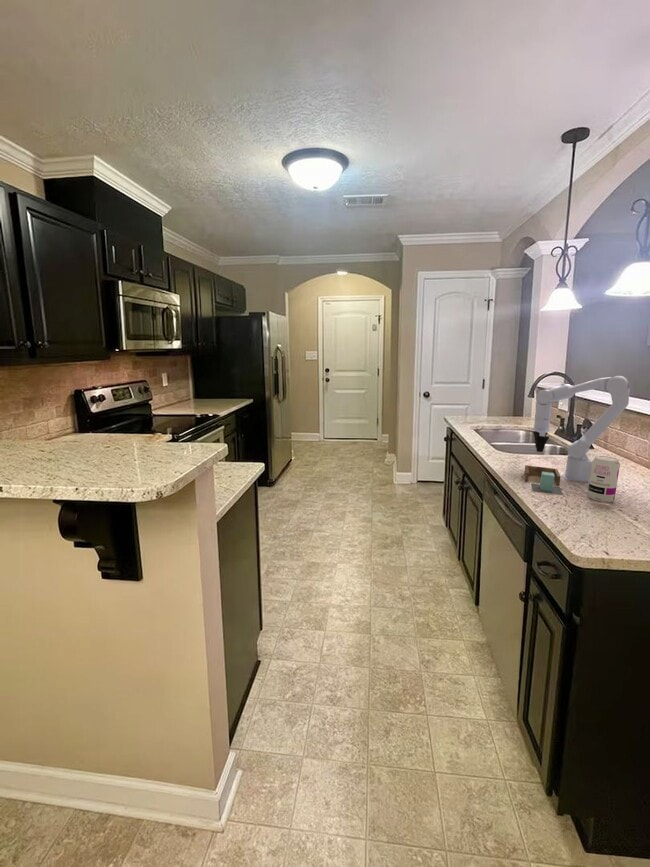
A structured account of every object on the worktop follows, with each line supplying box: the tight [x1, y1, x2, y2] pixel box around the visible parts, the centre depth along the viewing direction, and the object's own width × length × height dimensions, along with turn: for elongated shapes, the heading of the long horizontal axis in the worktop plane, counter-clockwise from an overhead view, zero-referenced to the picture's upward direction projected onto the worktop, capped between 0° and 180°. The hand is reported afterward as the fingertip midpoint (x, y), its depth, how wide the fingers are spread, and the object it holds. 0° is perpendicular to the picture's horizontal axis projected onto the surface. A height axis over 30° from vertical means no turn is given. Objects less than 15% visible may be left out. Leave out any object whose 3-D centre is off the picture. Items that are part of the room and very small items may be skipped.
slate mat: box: [531, 483, 564, 496], centre depth 161 cm, size 10×10×1 cm
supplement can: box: [587, 455, 621, 503], centre depth 151 cm, size 8×8×15 cm
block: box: [539, 472, 555, 491], centre depth 161 cm, size 4×4×6 cm
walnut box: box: [524, 465, 561, 487], centre depth 173 cm, size 12×12×4 cm
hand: (539, 449), depth 183 cm, fingers open, 7 cm apart
